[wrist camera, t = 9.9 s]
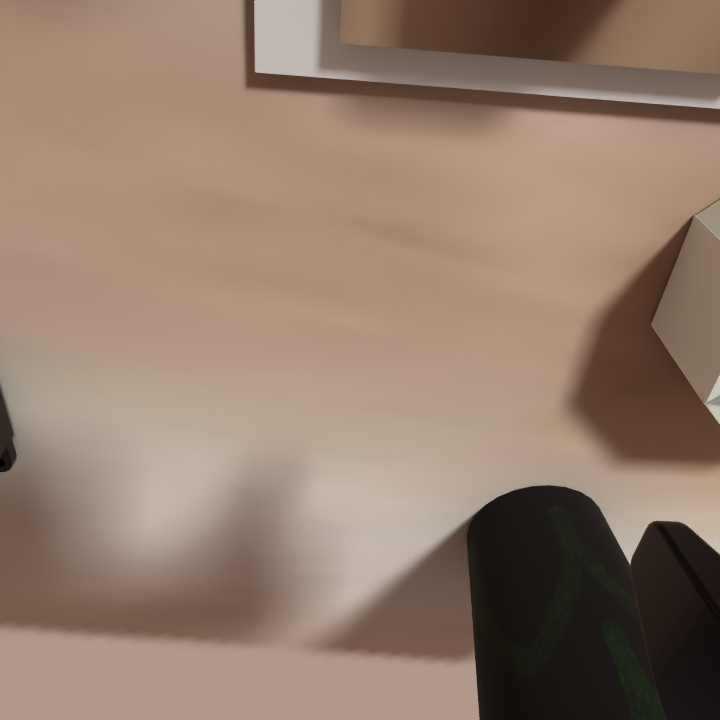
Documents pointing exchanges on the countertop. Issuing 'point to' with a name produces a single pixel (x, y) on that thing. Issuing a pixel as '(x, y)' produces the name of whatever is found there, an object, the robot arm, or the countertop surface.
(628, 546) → the countertop surface
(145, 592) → the countertop surface
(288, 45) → the mat
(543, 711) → the cup
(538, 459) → the countertop surface
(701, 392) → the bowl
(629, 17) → the lid
